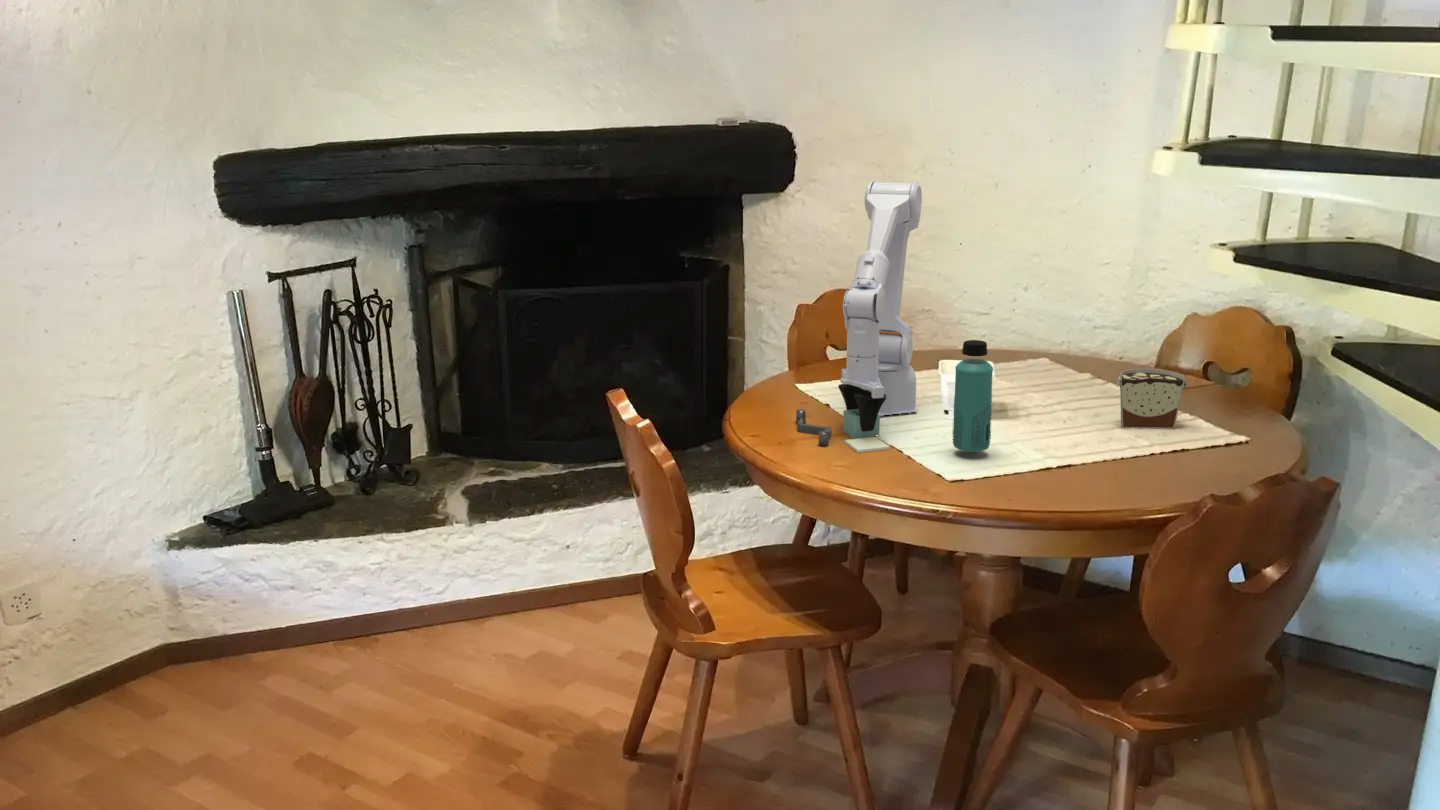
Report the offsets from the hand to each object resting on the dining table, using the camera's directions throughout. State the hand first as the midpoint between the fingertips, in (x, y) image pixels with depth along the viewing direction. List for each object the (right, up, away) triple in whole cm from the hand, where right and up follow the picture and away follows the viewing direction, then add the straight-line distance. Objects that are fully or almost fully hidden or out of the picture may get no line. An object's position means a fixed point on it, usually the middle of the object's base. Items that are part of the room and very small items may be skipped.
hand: (861, 426), depth 204 cm
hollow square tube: (0, -1, 0) cm, 1 cm away
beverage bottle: (+17, -5, -12) cm, 21 cm away
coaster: (0, -3, -7) cm, 7 cm away
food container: (+53, 0, +4) cm, 53 cm away
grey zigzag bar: (-8, -1, +1) cm, 9 cm away
